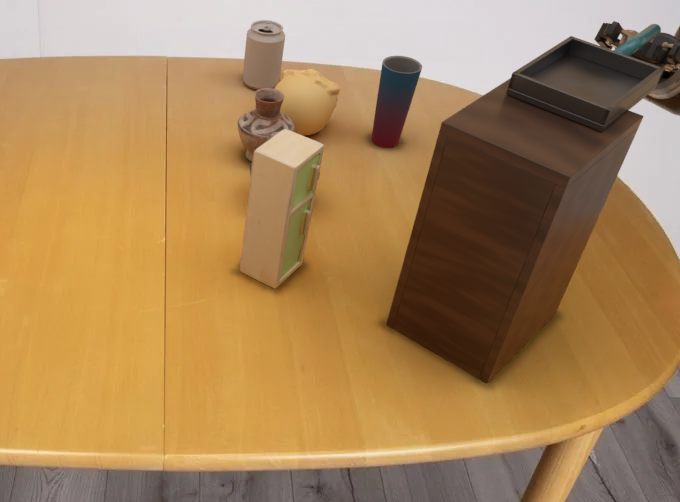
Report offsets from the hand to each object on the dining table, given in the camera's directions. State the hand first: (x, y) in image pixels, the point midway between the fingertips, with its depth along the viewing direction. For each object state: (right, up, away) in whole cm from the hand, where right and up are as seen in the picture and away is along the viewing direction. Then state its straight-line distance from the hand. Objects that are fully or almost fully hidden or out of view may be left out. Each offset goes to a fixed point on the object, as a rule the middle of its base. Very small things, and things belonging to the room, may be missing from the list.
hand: (642, 39), depth 117 cm
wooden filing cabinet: (-20, -38, +8) cm, 43 cm away
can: (-46, +11, +59) cm, 75 cm away
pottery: (-47, -13, +33) cm, 59 cm away
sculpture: (-40, -1, +47) cm, 61 cm away
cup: (-24, -4, +44) cm, 51 cm away
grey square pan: (-7, -6, -5) cm, 11 cm away
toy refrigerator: (-48, -30, +14) cm, 59 cm away
